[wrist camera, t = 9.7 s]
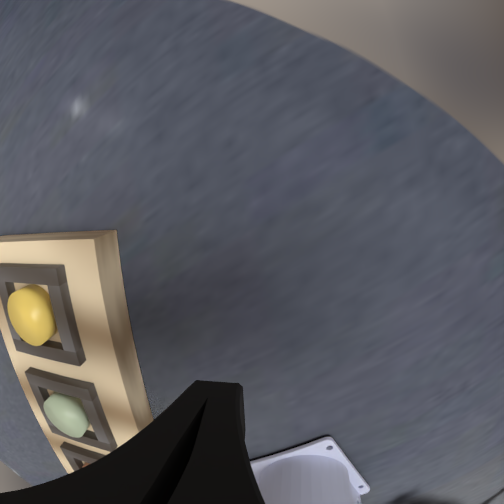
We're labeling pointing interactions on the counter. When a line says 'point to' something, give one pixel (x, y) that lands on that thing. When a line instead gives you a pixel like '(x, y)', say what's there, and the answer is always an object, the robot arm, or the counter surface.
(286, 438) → the counter surface
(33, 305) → the mustard button
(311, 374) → the counter surface
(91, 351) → the button console
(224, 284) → the counter surface
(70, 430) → the sage button
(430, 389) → the counter surface
